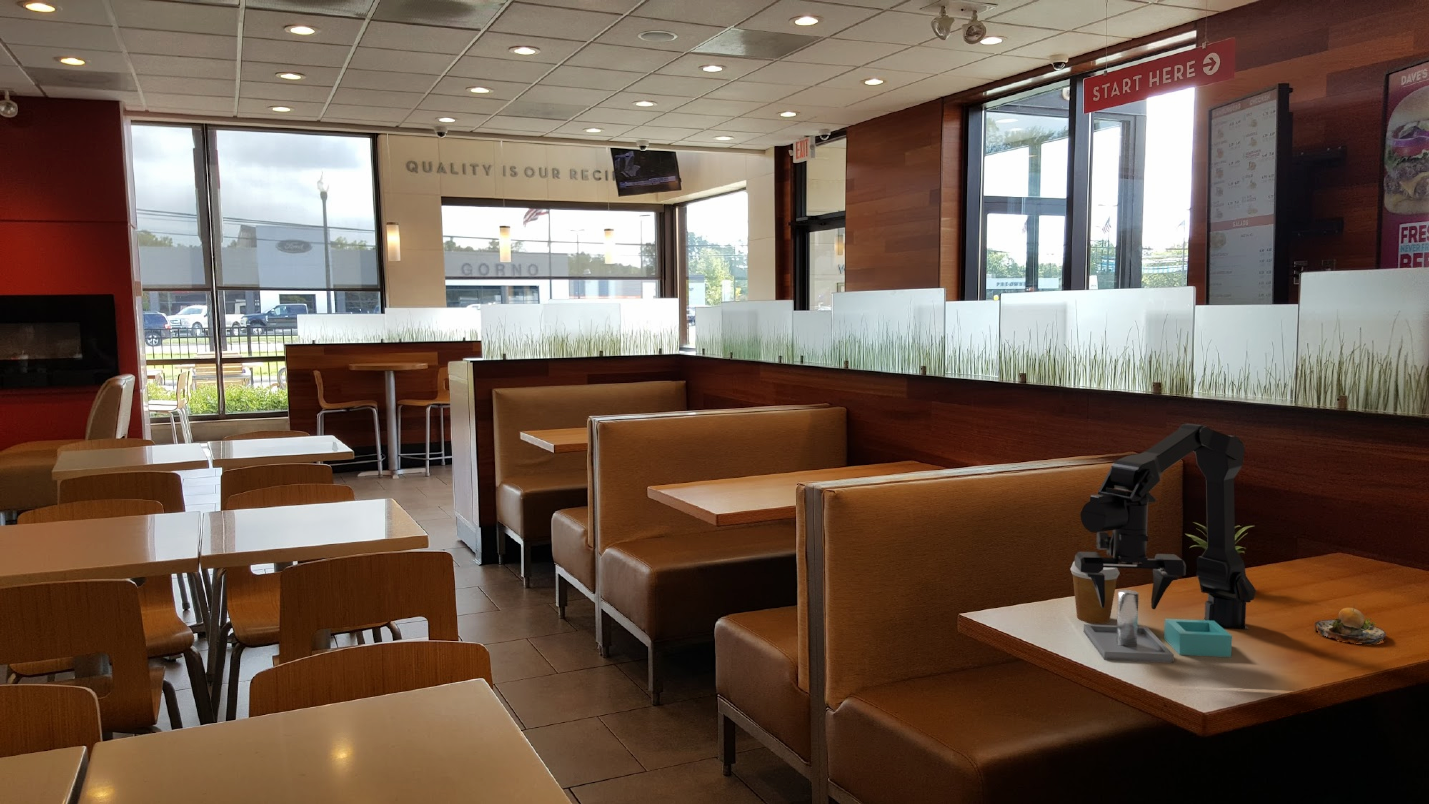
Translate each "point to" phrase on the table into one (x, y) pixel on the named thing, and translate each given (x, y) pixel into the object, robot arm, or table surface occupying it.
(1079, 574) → the disposable coffee cup
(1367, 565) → the table surface
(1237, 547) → the house plant
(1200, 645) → the teal square open box
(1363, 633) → the burger
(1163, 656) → the charcoal tray
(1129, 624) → the steel pin
